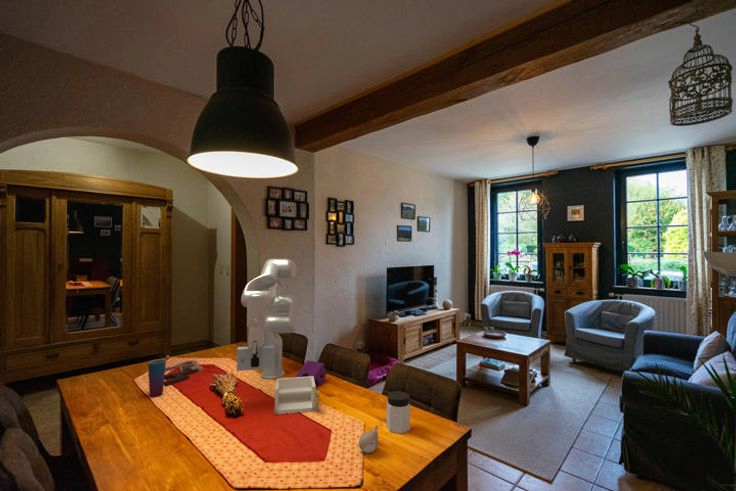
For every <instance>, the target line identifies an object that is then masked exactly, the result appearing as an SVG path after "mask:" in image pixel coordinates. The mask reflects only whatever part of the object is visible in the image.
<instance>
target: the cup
mask: <svg viewBox="0 0 736 491" xmlns="http://www.w3.org/2000/svg"><path fill="white" fill-rule="evenodd" d="M147 364H148V368H147V369H148V386H149V387H148V390H149V397H150V398H159V397H161V396H163V393H164V386H165V385H164V381H165V380H164V376H165V375H166V371H165V368H166V364H167V360H166V359H164V358H163V359H162V358H160V359H153V360H149V361H148V362H147Z"/></svg>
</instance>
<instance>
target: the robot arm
mask: <svg viewBox="0 0 736 491" xmlns="http://www.w3.org/2000/svg"><path fill="white" fill-rule="evenodd" d="M297 269H298V268H297V265H296V263H295V262H294V261H293V260H291V259H288V258H269V259H268V260H266V261H265V262H264V264H263V268H262V270H261V273H260V275H259V276H257V277H255V278H254V279H251V280H250V281H249V282H247V284H246V285H245V287H244V289H243V291H242V294H241V297H240V302H241V306H243V307H244V308H247V309H246V310H247V311H246V317H247V318H246V327H248V328H249V329H248V339H247V340H248V341H247V342H248V344H247V345H248V346H247V347H248V351H250V350H251V348H252V357H251V367H259V357H258V356H259V350H260V348H261V346H262V342H263V346H271V345H274V350H273V369H262V370H263V371H261V372H260V373H259V376H260V378H262V379H265V380H266V379H267V380H271V379H272V380H273V379H274V380H276V379H279V378H283V376H285V373H286V371H285V370H284V369H283V339H282V337H281V336H280V334H293V333H294V332H296V330H297V329H296V328H297V318H298V305H299V304H298V299H297V297H296V296H295V295H291V294H286V295H285V291H286V286H285V284H284V282H283V281H282V280H281V279H293V278H295V277H296V275H297V271H298V270H297ZM266 309H267V310H266ZM266 311H268V312H270V313H273V314H269V315H267V314H266V313H267V312H266ZM274 313H276V314H274ZM278 313H279V314H278ZM281 313H283V314H281ZM256 349H258V350H256Z"/></svg>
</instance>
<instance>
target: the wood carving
mask: <svg viewBox="0 0 736 491" xmlns="http://www.w3.org/2000/svg"><path fill="white" fill-rule="evenodd" d="M178 367H179V368H178ZM189 367H190V368H189ZM176 368H177V369H178V370H179V372H174V373H173V372H172V373H169V374H165V376H164V386H165V387H169V386H173V385H175V384H177V383H181V382H184V381H187V380H190V375H194V374H196V373H198V372H201V371H203V370H204V369H203V368H204V367H203V366H202V365H199V363H198V361H197V360H192V359H191V360H186V361H183V362H180V363H179V362H178V363H177V364H175V365H171V366H167V367H166V366H165V372H168V370H169V371H174V370H177V369H176ZM183 368H184V369H183ZM173 369H174V370H173Z"/></svg>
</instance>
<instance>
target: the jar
mask: <svg viewBox="0 0 736 491" xmlns="http://www.w3.org/2000/svg"><path fill="white" fill-rule="evenodd" d="M386 427H387V429H388V430H389V433H395V434H400V435H401V434H404V433H406V432H408V431H410V430H411V404H410V395H409V393H407V392H404V391H400V390H395V391H391V392H389V393H388V394H387V400H386Z"/></svg>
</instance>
